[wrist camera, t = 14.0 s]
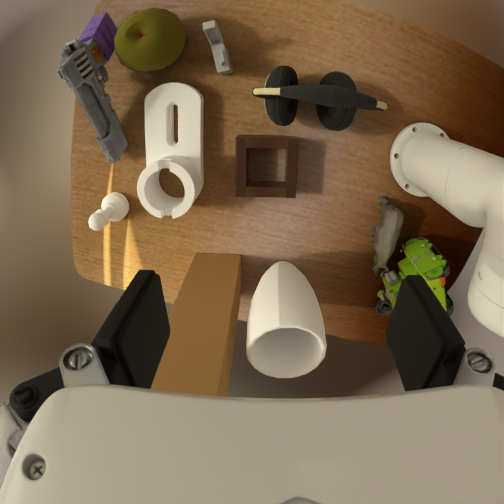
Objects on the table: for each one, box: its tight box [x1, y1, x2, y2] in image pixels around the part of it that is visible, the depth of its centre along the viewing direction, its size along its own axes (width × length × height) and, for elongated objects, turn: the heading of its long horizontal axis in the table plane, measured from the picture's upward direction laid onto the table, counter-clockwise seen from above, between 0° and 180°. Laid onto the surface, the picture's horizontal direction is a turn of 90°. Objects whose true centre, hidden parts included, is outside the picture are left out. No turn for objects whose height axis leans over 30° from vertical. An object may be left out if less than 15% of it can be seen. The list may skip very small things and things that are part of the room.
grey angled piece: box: [203, 20, 233, 75], centre depth 35 cm, size 7×2×8 cm, turn 12°
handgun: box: [57, 12, 127, 163], centre depth 38 cm, size 3×22×15 cm
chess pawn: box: [89, 192, 129, 231], centre depth 47 cm, size 5×5×9 cm
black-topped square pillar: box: [150, 253, 241, 397], centre depth 41 cm, size 8×8×35 cm
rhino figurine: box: [370, 196, 404, 277], centre depth 48 cm, size 4×14×6 cm, turn 177°
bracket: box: [137, 83, 204, 219], centre depth 43 cm, size 20×9×7 cm, turn 178°
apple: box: [114, 8, 186, 72], centre depth 33 cm, size 10×10×11 cm
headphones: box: [252, 66, 387, 131], centre depth 32 cm, size 9×15×20 cm, turn 88°
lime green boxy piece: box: [374, 237, 453, 316], centre depth 48 cm, size 13×16×14 cm
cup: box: [246, 261, 327, 378], centre depth 45 cm, size 10×10×22 cm
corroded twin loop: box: [376, 298, 393, 316], centre depth 56 cm, size 5×8×1 cm, turn 146°
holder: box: [236, 135, 299, 198], centre depth 45 cm, size 9×9×4 cm
